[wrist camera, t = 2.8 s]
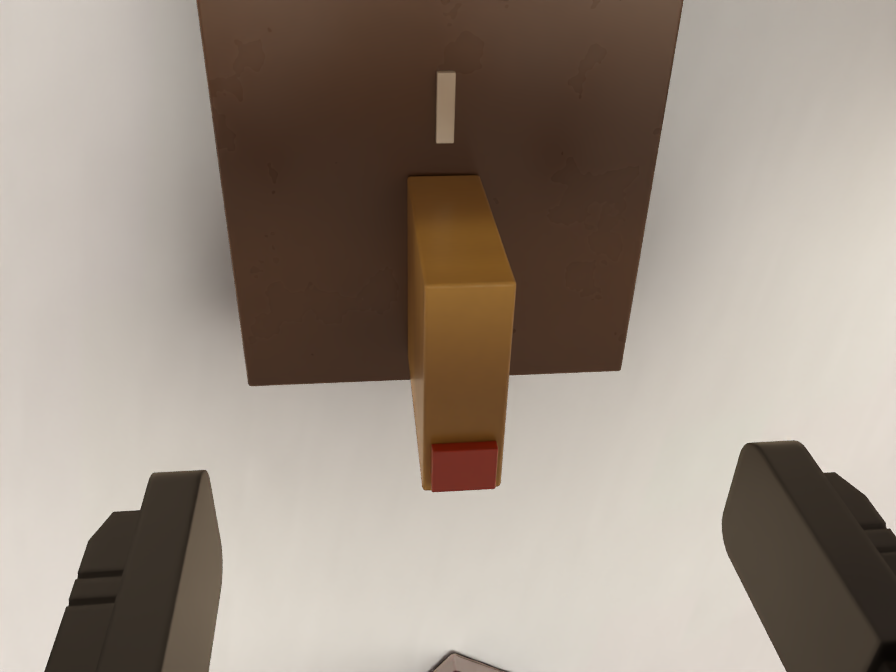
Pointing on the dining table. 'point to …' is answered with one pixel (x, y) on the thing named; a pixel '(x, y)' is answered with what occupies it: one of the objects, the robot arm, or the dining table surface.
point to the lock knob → (458, 332)
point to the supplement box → (463, 665)
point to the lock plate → (432, 167)
